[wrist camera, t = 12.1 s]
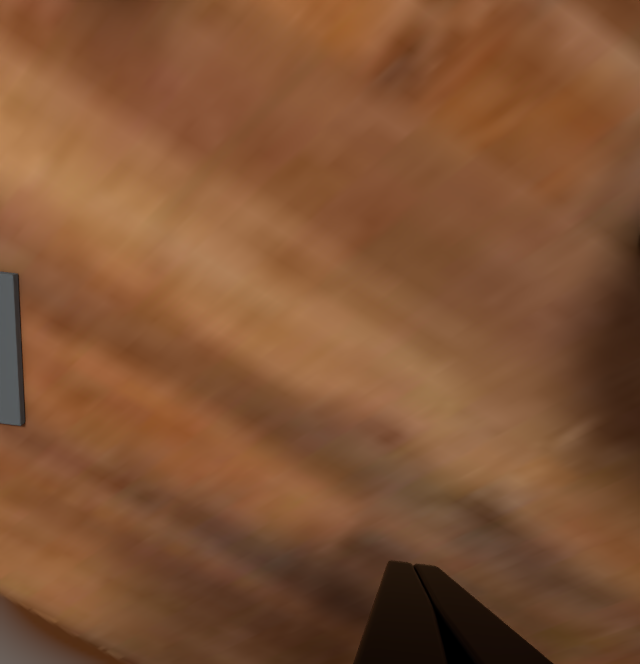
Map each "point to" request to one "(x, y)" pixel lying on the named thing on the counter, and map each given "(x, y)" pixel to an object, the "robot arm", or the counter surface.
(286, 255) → the counter surface
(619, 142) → the counter surface
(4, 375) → the slate mat
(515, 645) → the robot arm
